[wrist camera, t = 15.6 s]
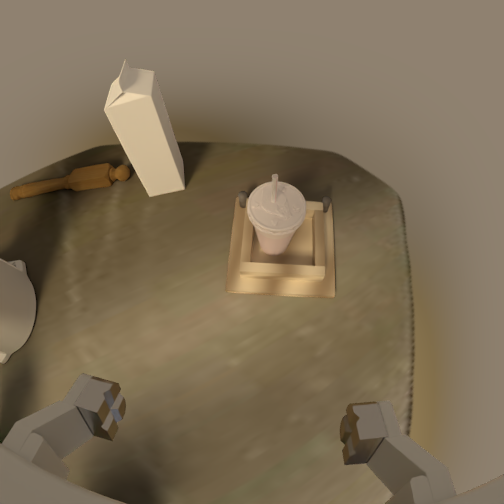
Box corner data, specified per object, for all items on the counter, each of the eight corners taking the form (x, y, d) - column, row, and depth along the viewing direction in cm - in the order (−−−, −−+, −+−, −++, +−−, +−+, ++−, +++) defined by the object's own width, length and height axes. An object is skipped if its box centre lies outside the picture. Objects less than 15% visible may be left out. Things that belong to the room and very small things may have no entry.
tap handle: (12, 184, 47) (127, 159, 46) (19, 191, 49) (134, 170, 49) (7, 196, 45) (124, 173, 44) (15, 203, 48) (130, 184, 47)
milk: (149, 197, 46) (92, 91, 25) (150, 169, 48) (102, 65, 28) (186, 189, 46) (143, 74, 26) (184, 161, 48) (148, 50, 28)
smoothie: (277, 214, 42) (282, 145, 29) (307, 247, 40) (326, 185, 27) (240, 239, 41) (231, 175, 28) (270, 275, 39) (274, 221, 26)
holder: (226, 292, 39) (223, 284, 36) (236, 201, 45) (234, 187, 41) (333, 298, 38) (339, 290, 35) (330, 206, 44) (334, 193, 40)
